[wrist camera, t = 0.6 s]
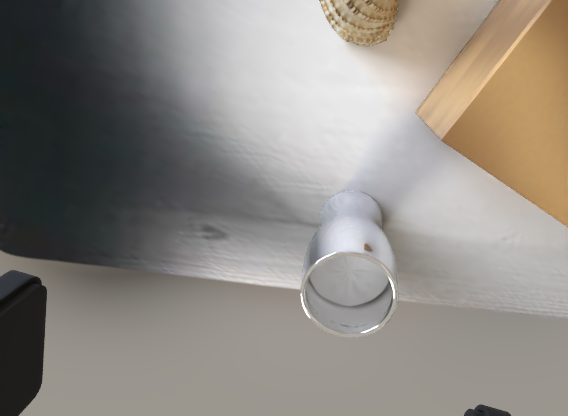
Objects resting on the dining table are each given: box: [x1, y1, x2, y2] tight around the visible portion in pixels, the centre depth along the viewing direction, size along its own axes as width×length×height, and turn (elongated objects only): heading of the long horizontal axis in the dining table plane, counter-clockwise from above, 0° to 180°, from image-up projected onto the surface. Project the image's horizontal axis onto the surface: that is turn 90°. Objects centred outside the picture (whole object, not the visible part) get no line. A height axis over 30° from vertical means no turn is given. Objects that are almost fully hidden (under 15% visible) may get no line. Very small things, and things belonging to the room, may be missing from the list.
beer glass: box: [300, 190, 399, 338], centre depth 38 cm, size 7×7×15 cm
